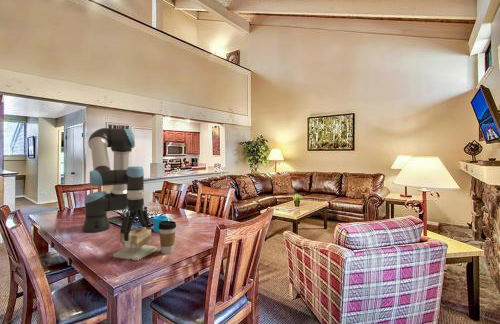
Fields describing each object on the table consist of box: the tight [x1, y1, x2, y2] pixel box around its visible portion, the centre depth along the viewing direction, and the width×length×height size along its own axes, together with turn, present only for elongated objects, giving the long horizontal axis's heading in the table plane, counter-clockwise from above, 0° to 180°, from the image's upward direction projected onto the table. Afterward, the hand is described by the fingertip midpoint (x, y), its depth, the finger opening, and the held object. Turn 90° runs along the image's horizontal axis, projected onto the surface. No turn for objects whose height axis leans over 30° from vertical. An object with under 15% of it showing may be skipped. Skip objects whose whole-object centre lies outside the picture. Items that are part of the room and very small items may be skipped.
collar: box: [119, 227, 152, 248], centre depth 126 cm, size 10×10×6 cm
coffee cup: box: [158, 220, 177, 255], centre depth 129 cm, size 8×8×15 cm
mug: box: [152, 215, 173, 233], centre depth 164 cm, size 12×8×8 cm
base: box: [113, 244, 158, 261], centre depth 127 cm, size 14×14×8 cm
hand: (136, 243), depth 127 cm, fingers closed on collar, 10 cm apart
